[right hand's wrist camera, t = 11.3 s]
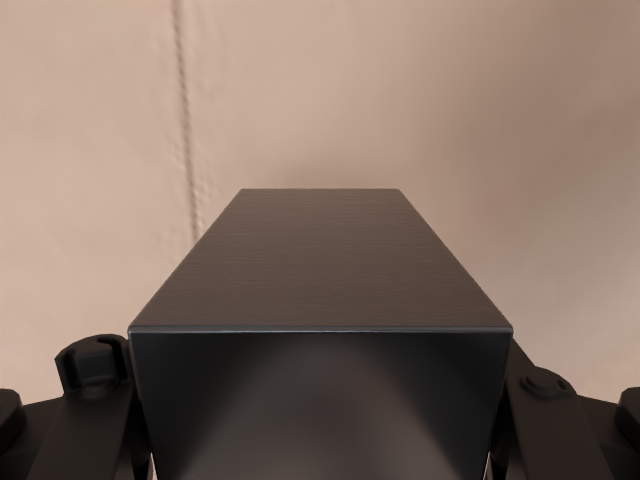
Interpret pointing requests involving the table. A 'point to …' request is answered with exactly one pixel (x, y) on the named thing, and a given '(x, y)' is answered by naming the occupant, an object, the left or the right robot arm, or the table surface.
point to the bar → (320, 346)
